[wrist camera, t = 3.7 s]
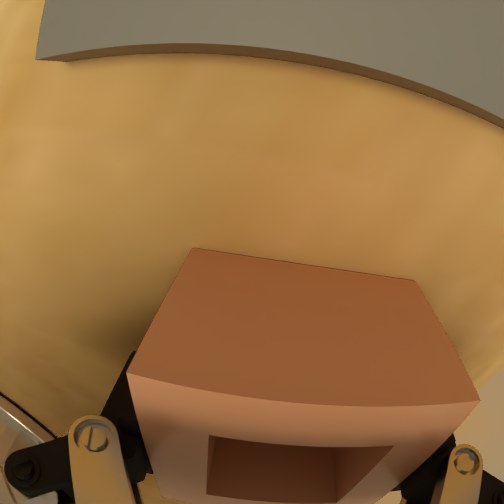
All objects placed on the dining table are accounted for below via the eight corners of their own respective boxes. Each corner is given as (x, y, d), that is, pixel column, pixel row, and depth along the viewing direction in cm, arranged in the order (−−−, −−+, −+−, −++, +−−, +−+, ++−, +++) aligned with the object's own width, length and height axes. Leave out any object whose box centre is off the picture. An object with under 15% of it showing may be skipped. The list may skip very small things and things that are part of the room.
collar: (349, 413, 12) (361, 512, 8) (190, 395, 12) (162, 497, 8) (414, 280, 9) (480, 400, 5) (192, 247, 9) (125, 372, 5)
